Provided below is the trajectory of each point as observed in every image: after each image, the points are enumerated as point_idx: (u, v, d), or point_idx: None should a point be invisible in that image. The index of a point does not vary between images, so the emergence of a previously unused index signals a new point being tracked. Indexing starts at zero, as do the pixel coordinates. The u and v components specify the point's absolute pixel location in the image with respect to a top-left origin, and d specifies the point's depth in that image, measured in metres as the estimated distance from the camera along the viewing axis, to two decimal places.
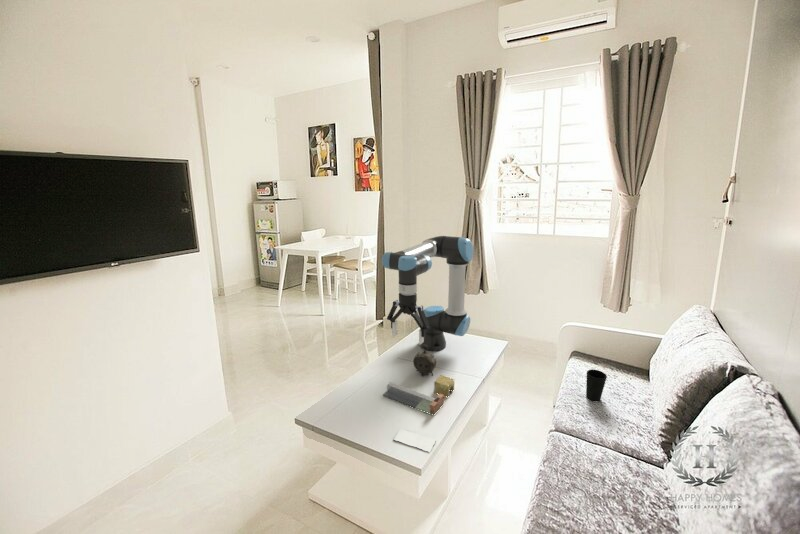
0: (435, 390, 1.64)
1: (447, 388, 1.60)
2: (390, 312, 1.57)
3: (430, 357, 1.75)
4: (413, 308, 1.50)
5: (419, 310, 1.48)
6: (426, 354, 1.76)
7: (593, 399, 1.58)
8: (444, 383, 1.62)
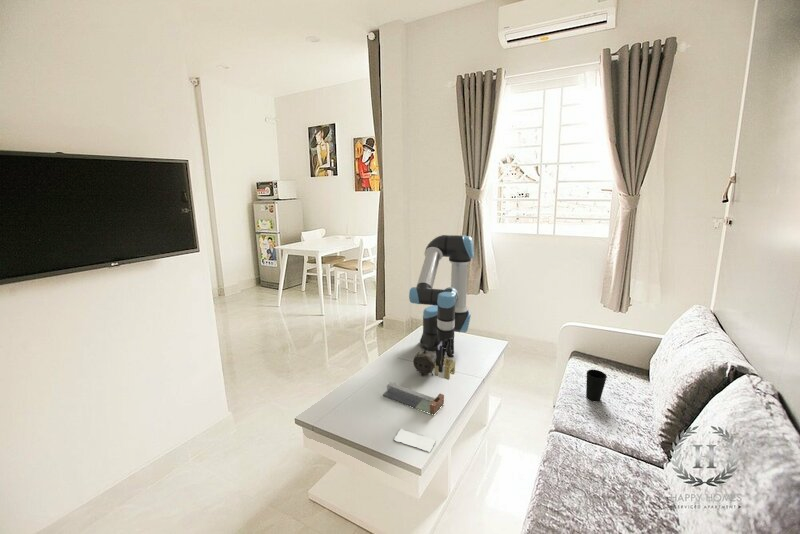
0: (436, 372, 1.62)
1: (448, 370, 1.59)
2: None
3: (430, 356, 1.75)
4: None
5: None
6: (426, 354, 1.76)
7: (593, 399, 1.58)
8: (445, 365, 1.60)
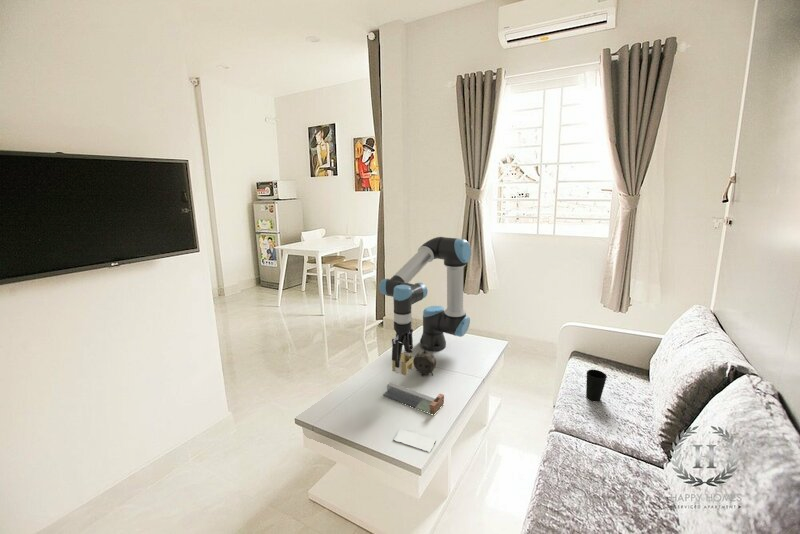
0: (393, 368, 1.59)
1: (405, 365, 1.55)
2: None
3: (430, 357, 1.75)
4: None
5: None
6: (426, 354, 1.76)
7: (593, 399, 1.58)
8: (402, 360, 1.56)
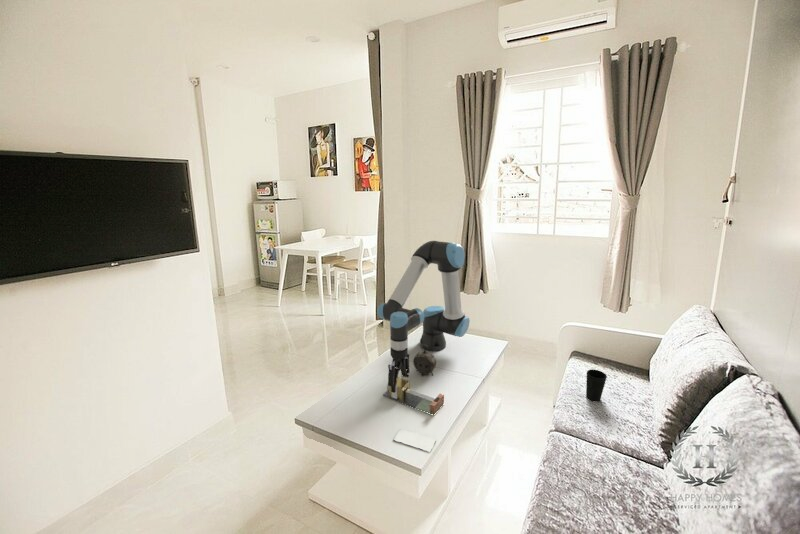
0: (390, 392, 1.62)
1: (401, 390, 1.58)
2: None
3: (430, 356, 1.75)
4: None
5: None
6: (426, 354, 1.76)
7: (593, 399, 1.58)
8: (398, 385, 1.60)
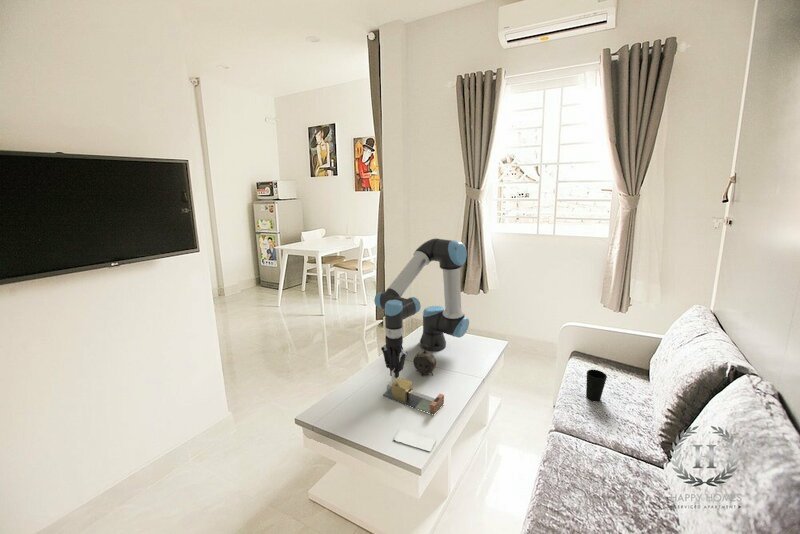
0: (393, 393, 1.61)
1: (404, 391, 1.57)
2: (385, 359, 1.62)
3: (430, 356, 1.75)
4: (399, 350, 1.56)
5: (403, 356, 1.56)
6: (426, 354, 1.76)
7: (593, 399, 1.58)
8: (401, 386, 1.59)
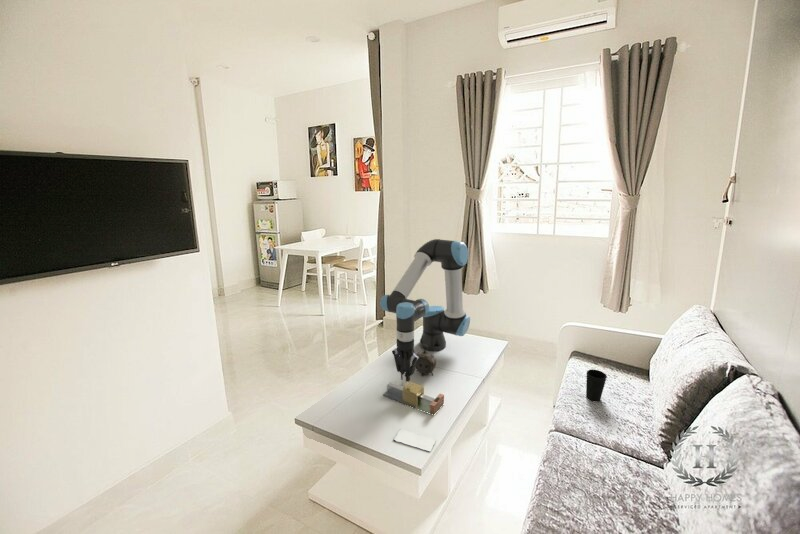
0: (403, 398, 1.58)
1: (415, 396, 1.54)
2: (396, 363, 1.59)
3: (430, 357, 1.75)
4: (411, 354, 1.53)
5: (414, 360, 1.53)
6: (426, 354, 1.76)
7: (593, 399, 1.58)
8: (412, 390, 1.55)
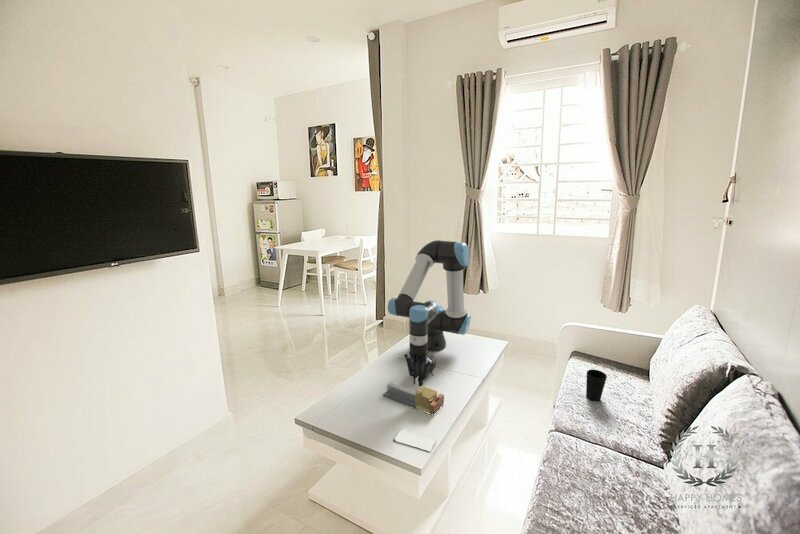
0: (416, 403, 1.54)
1: (428, 401, 1.50)
2: (408, 367, 1.55)
3: (430, 357, 1.75)
4: (424, 358, 1.50)
5: (428, 364, 1.49)
6: None
7: (593, 399, 1.58)
8: (425, 395, 1.52)
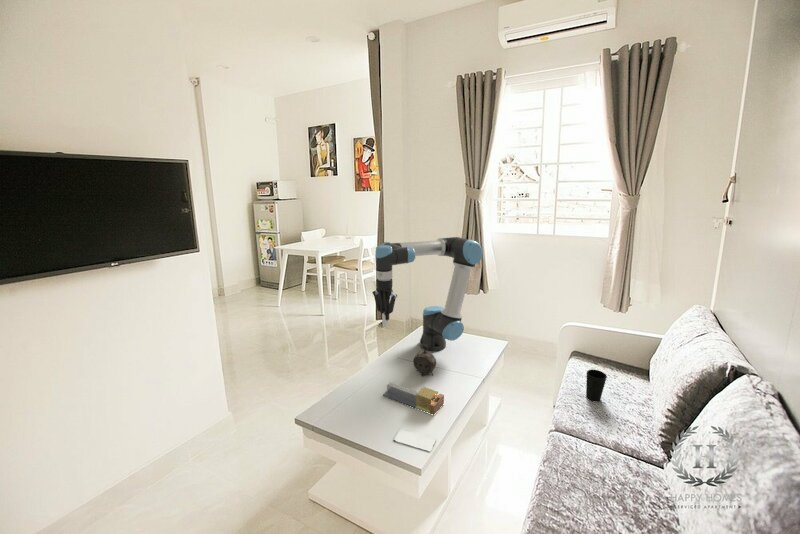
0: (417, 403, 1.54)
1: (429, 401, 1.50)
2: (376, 303, 1.72)
3: (430, 356, 1.75)
4: (389, 292, 1.66)
5: (392, 298, 1.66)
6: (426, 354, 1.76)
7: (593, 399, 1.58)
8: (426, 396, 1.52)
